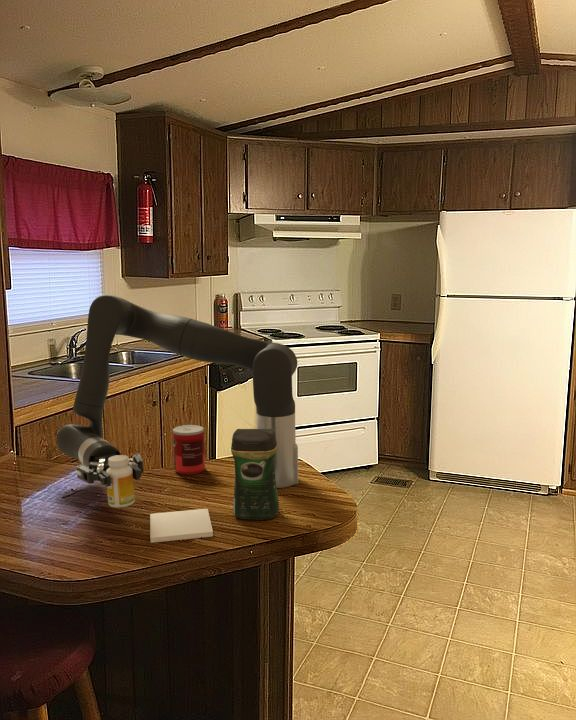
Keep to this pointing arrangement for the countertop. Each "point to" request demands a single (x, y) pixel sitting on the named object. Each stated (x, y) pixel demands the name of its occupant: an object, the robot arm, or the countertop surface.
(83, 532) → the countertop surface
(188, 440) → the canned food
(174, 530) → the bay plate
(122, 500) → the supplement bottle
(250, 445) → the coffee jar
